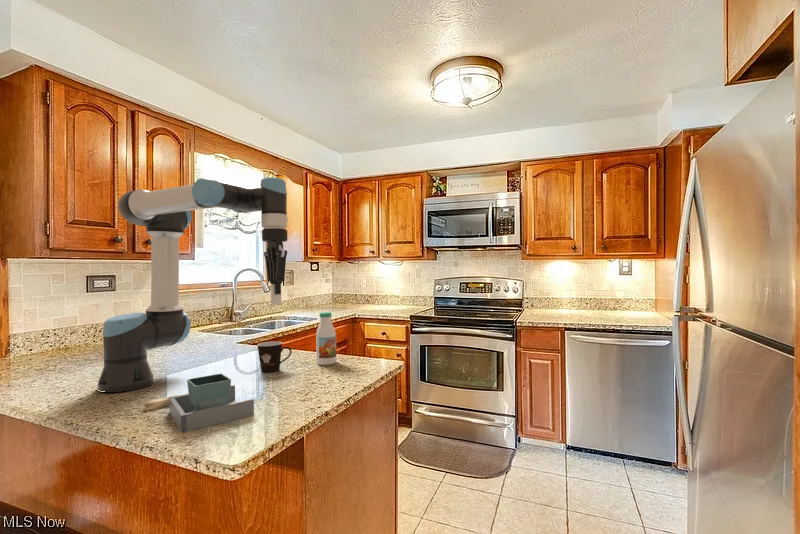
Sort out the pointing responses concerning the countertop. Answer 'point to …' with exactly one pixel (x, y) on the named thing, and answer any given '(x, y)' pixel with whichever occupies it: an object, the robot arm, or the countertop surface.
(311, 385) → the countertop surface
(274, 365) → the coffee mug
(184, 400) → the box
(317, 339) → the milk bottle
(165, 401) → the scraper
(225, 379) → the flower pot
